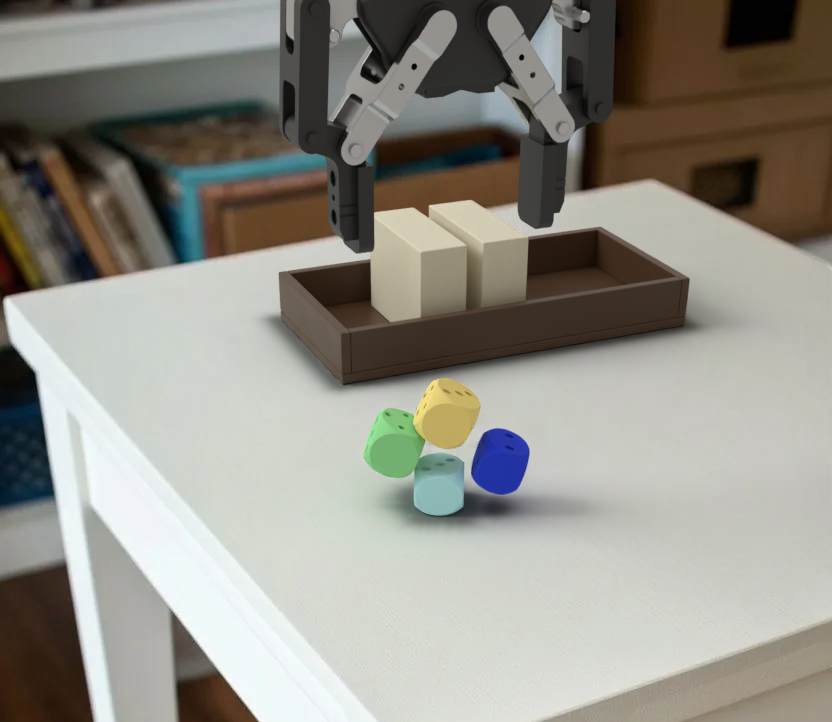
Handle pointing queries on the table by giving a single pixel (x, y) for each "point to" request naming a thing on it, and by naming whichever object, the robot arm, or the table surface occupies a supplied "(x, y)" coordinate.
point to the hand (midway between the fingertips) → (447, 235)
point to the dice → (445, 428)
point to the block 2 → (486, 253)
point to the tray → (487, 309)
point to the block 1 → (416, 267)
